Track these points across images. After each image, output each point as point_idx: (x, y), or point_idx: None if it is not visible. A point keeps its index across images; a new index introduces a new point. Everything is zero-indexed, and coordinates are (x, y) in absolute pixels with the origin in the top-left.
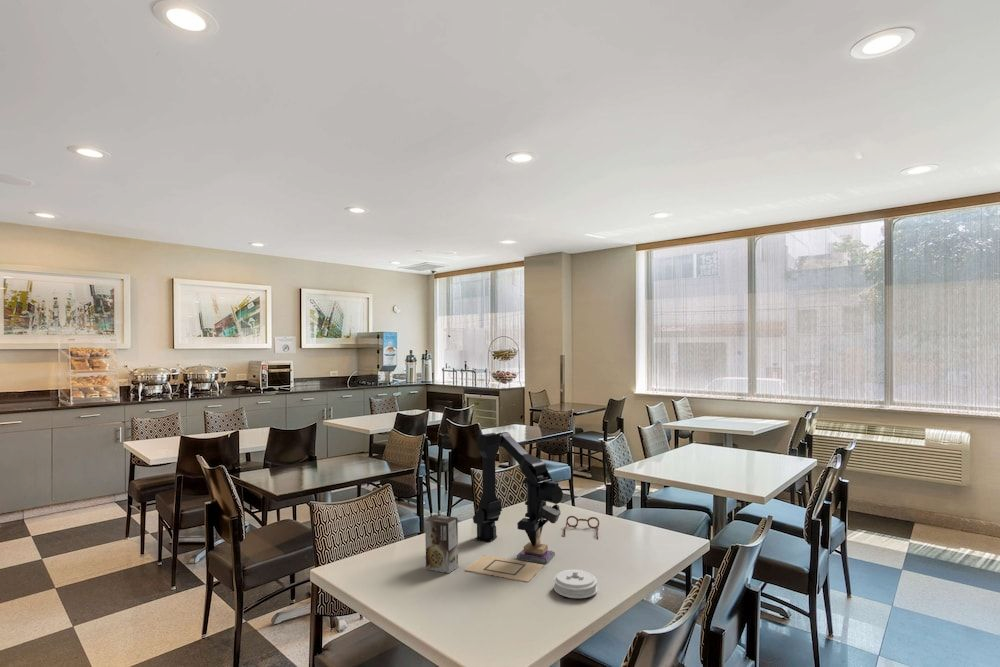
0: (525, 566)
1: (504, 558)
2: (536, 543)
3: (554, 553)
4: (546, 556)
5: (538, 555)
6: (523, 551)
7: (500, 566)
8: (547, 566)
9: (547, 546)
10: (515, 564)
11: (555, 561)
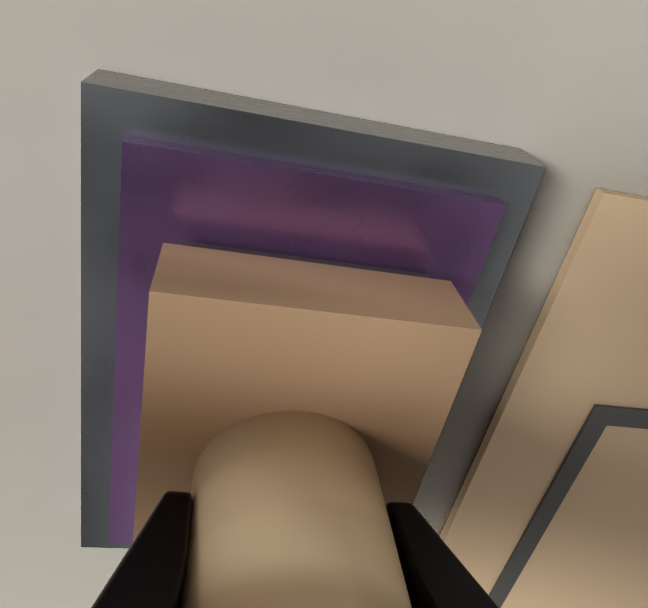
0: (645, 396)
1: None
2: (386, 515)
3: (110, 81)
4: (439, 205)
5: None
6: None
7: (622, 579)
8: (624, 124)
9: (171, 278)
10: (576, 493)
11: (398, 11)
